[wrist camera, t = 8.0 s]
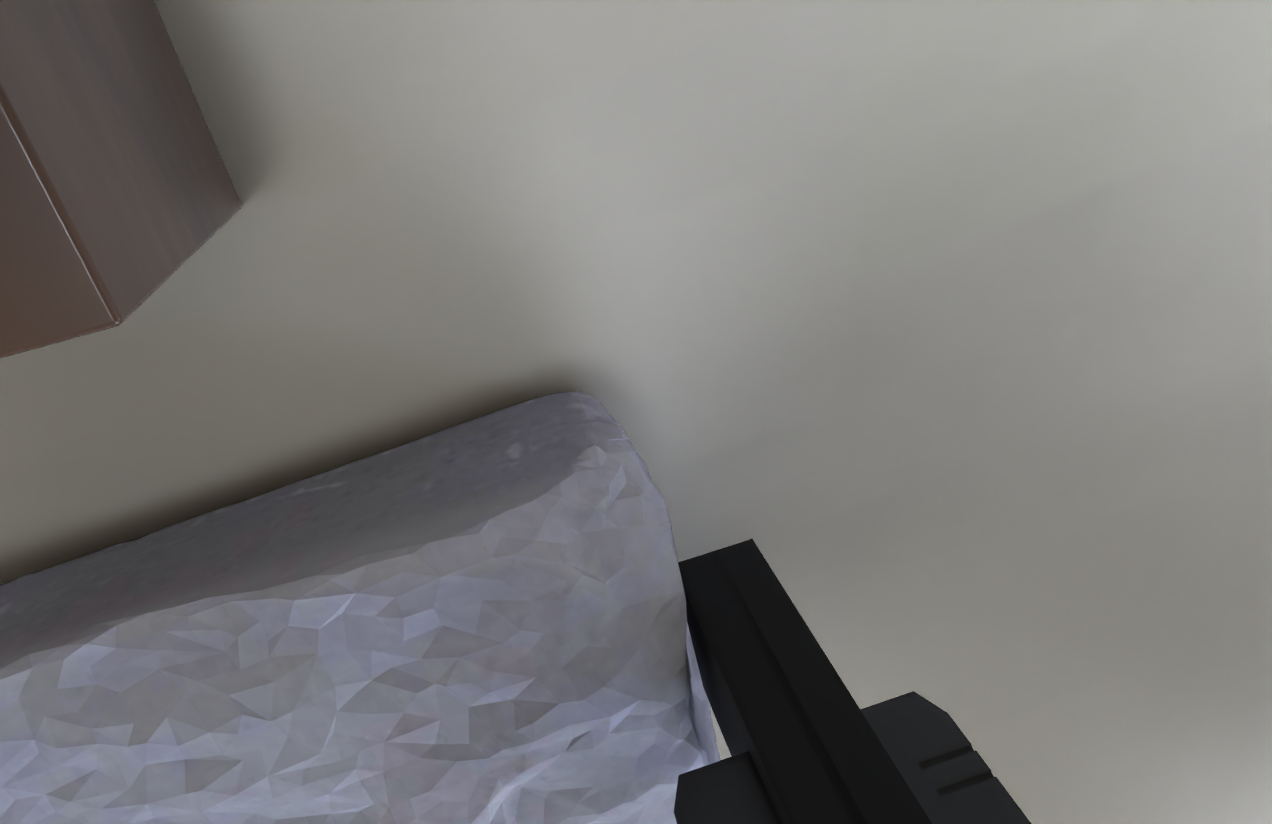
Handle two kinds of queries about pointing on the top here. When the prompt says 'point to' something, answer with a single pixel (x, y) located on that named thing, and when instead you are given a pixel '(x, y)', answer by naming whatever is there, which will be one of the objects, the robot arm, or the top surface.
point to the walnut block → (96, 167)
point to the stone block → (372, 647)
